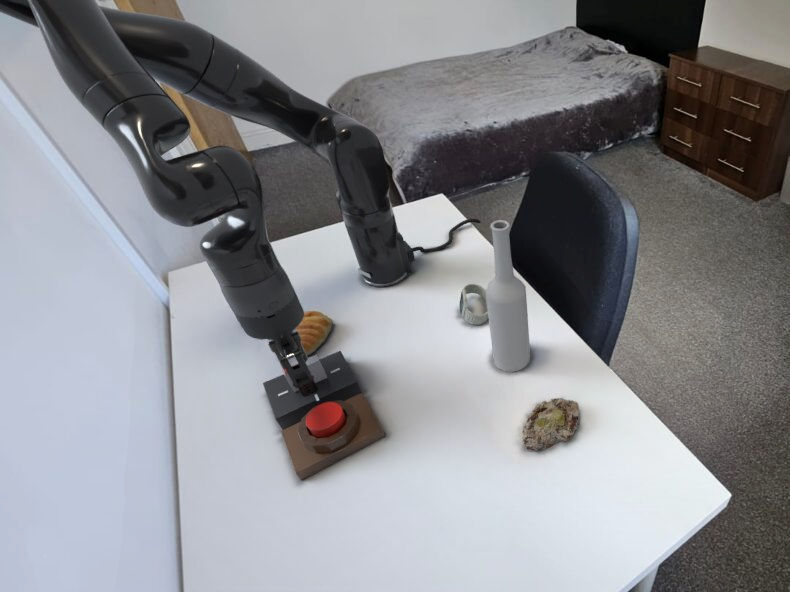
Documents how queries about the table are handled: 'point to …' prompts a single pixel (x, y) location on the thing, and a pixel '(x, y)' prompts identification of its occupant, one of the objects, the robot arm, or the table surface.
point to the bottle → (507, 307)
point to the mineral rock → (551, 423)
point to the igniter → (332, 438)
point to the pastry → (313, 330)
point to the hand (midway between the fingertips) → (303, 375)
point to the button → (325, 419)
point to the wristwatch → (463, 304)
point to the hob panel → (295, 406)
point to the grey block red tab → (314, 366)
